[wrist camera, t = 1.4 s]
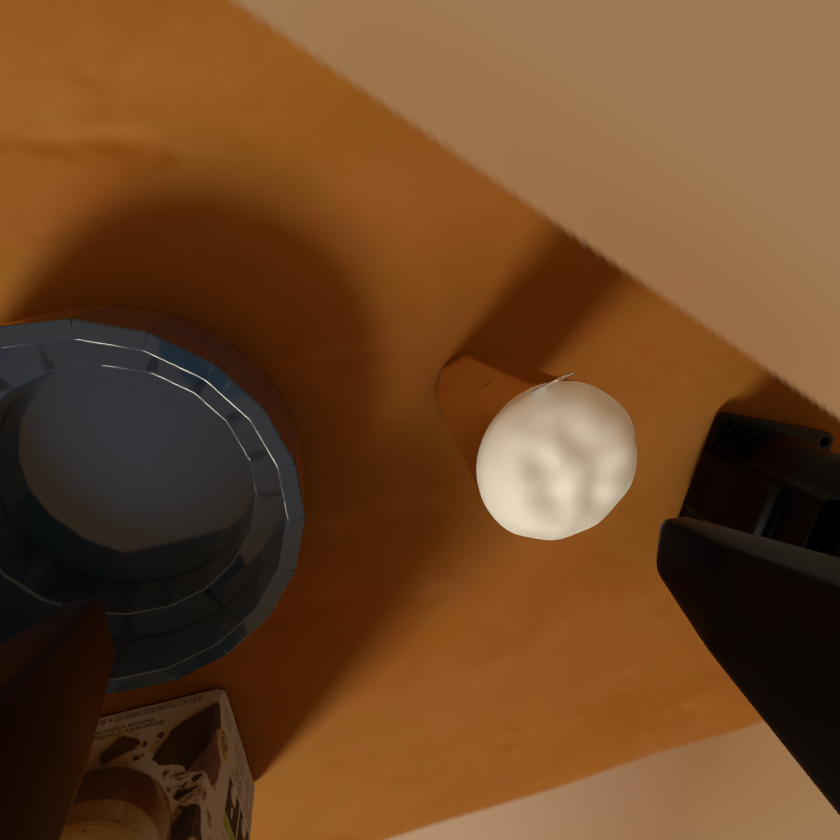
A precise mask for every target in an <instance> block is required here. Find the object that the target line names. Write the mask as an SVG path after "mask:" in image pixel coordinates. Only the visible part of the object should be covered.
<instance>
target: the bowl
mask: <svg viewBox="0 0 840 840" xmlns="http://www.w3.org/2000/svg"><path fill="white" fill-rule="evenodd" d="M304 524H305V471H304V466H303V460H302V454H301V448H300V442H299V437H298V431H297V428H296V424H295V422H294V420H293V418H292V417H291V415H290V413H289V411H288V409H287V408H286V406H285V404H284V402H283V400H282V398H281V397H280V395H279V393H278V391H277V389H276V388H275V386H274V384H273V382H271V380H270V379H269V378H268V377H267V376H266V375H265V374H264V373H263V372H262V371H261V370H259V369H258V368H257V367H256V366H255V365H254V364H253V363H252V362H251V361H250V360H249V359H248V358H247V357H246V356H245V355H244V354H243V353H241V352H240V351H239V350H238V349H237V348H236V347H235V346H234V345H233V344H230V342H228V341H226V340H224V339H222V338H220V337H219V336H217V335H215V334H213V333H211V332H209V331H207V330H205V329H203V328H201V327H199V326H197V325H195V324H193V323H191V322H189V321H187V320H185V319H183V318H181V317H177V316H175V315H170V314H165V313H160V312H154V311H149V310H143V309H138V308H133V307H127V306H122V305H105V306H95V307H86V308H77V309H68V310H59V311H52V312H49V313H45V314H41V315H37V316H33V317H29V318H25V319H21V320H18V321H14V322H10V323H6V324H2V325H0V645H1V644H3V643H4V642H6V641H7V640H9V639H11V638H12V637H14V636H15V635H17V634H18V633H20V632H22V631H23V630H25V629H26V628H28V627H29V626H31V625H33V624H34V623H36V622H37V621H39V620H41V619H42V618H44V617H45V616H47V615H48V614H50V613H52V612H53V611H55V610H56V609H58V608H60V607H61V606H63V605H64V604H66V603H69V602H73V601H80V600H87V599H98V600H99V601H101V603H102V604H103V606H104V609H105V613H106V617H107V621H108V625H109V629H110V633H111V637H112V642H113V646H114V659H113V665H112V669H111V673H110V677H109V681H108V685H107V689H106V693H105V694H114V693H120V692H125V691H129V690H134V689H138V688H143V687H148V686H152V685H157V684H162V683H166V682H171V681H174V680H178V679H180V678H182V677H184V676H186V675H188V674H190V673H192V672H194V671H196V670H198V669H200V668H202V667H204V666H206V665H208V664H210V663H212V662H214V661H216V660H218V659H220V658H222V657H224V656H226V655H227V654H228V653H230V652H231V651H232V650H233V649H234V648H235V647H237V646H238V645H239V644H240V643H241V642H242V641H243V640H244V639H245V638H246V637H248V636H249V635H250V634H251V633H252V632H253V631H254V630H255V629H256V628H257V627H258V626H260V625H261V624H262V623H263V622H264V621H265V620H266V619H267V618H268V617H269V616H270V615H271V613H272V611H273V610H274V608H275V606H276V604H277V603H278V601H279V599H280V597H281V596H282V594H283V592H284V590H285V589H286V587H287V585H288V583H289V582H290V580H291V578H292V576H293V575H294V573H295V570H296V568H297V563H298V557H299V552H300V546H301V541H302V535H303V529H304Z"/></svg>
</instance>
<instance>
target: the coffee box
mask: <svg viewBox="0 0 840 840" xmlns="http://www.w3.org/2000/svg"><path fill="white" fill-rule="evenodd" d="M254 789H255V786H254V782H253V779H252V775H251V772H250V769H249V766H248V762H247V759H246V755H245V752H244V748H243V745H242V742H241V739H240V735H239V732H238V728H237V725H236V722H235V718H234V715H233V712H232V709H231V706H230V703H229V700H228V697H227V694H226V692H225V691H224V690H222V689H215V690H210V691H206V692H202V693H198V694H194V695H190V696H186V697H183V698H179V699H175V700H171V701H167V702H162V703H158V704H154V705H150V706H146V707H142V708H138V709H134V710H130V711H125V712H121V713H117V714H113V715H109V716H105V717H101V718H99V721H98V725H97V729H96V733H95V737H94V741H93V745H92V749H91V752H90V756H89V760H88V763H87V767H86V769H85V772H84V775H83V778H82V781H81V784H80V787H79V790H78V792H77V795H76V798H75V800H74V803H73V806H72V808H71V811H70V814H69V817H68V819H67V822H66V825H65V827H64V830H63V833H62V836H61V838H60V840H250V830H251V820H252V810H253V801H254Z"/></svg>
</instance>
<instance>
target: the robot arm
mask: <svg viewBox="0 0 840 840" xmlns="http://www.w3.org/2000/svg"><path fill="white" fill-rule="evenodd" d="M727 421H728V424H727V425H726V426H725V423H726V422H727ZM724 426H725V427H724ZM832 443H833V436H832V434H831V433H829V432H826V431H823V430H820V429H814V428H809V427H804V426H798V425H793V424H787V423H782V422H777V421H771V420H766V419H761V418H755V417H750V416H745V415H739V414H734V413H729V412H723V413H721V414H719V415H718V416H717V417H716V418H715V420H714V423H713V425H712V428H711V431H710V434H709V436H708V439H707V442H706V444H705V447H704V450H703V453H702V455H701V458H700V461H699V464H698V466H697V469H696V472H695V475H694V477H693V480H692V483H691V486H690V488H689V491H688V494H687V497H686V499H685V502H684V505H683V508H682V510H681V513H680V516H679V518H672V519H667V520H665V521H664V522H663V523H662V524H661V526H660V532H659V542H658V551H657V569H658V572H659V575H660V577H661V578H662V580H663V581H664V583H665V584H666V586H667V588H668V589H669V591H670V592H671V594H672V595H673V597H674V598H675V600H676V601H677V603H678V604H679V606H680V607H681V609H682V611H683V612H684V614H685V615H686V617H687V618H688V620H689V621H690V623H691V624H692V626H693V627H694V629H695V630H696V632H697V634H698V635H699V637H700V638H701V640H702V641H703V642H704V644H705V645H706V647H707V648H708V650H709V651H710V652H711V654H712V655H713V656H714V658H715V659H716V660H717V662H718V663H719V664H720V665H721V667H722V668H723V669H724V670H725V672H726V673H727V674H728V675H729V677H730V678H731V679H732V680H733V682H734V683H735V684H736V686H737V687H738V688H739V689H740V691H741V692H742V693H743V694H744V696H745V697H746V698H747V699H748V701H749V702H750V703H751V704H752V706H753V707H754V708H755V709H756V711H757V712H758V713H759V714H760V716H761V717H762V718H763V719H764V721H765V722H766V723H767V724H768V726H769V727H770V728H771V729H772V731H773V732H774V733H775V735H776V736H777V737H778V738H779V739H780V741H781V742H782V743H783V744H784V746H785V747H786V748H787V750H788V751H789V752H790V753H791V755H792V756H793V757H794V758H795V760H796V761H797V762H798V763H799V765H800V766H801V767H802V768H803V770H804V771H805V772H806V773H807V775H808V776H809V777H810V779H811V780H812V781H813V782H814V784H815V785H816V786H817V787H818V789H819V790H820V791H821V792H822V793H823V795H824V796H825V797H826V799H827V800H828V801H829V802H830V804H831V805H832V806H833V807H834V809H835V810H836V811H837V813H838V814H839V815H840V455H839V454H837V453H834V452H832V451H829V450H830V448H831V445H832ZM113 659H114V646H113V642H112V637H111V633H110V629H109V625H108V621H107V617H106V613H105V609H104V606H103V604H102V603H101V601H99V600H98V599H87V600H80V601H73V602H69V603H66V604H64V605H63V606H61V607H60V608H58V609H56V610H55V611H53V612H52V613H50V614H48V615H47V616H45V617H44V618H42V619H41V620H39V621H37V622H36V623H34V624H33V625H31V626H29V627H28V628H26V629H25V630H23V631H22V632H20V633H18V634H17V635H15V636H14V637H12V638H11V639H9V640H7V641H6V642H4V643H3V644H1V645H0V840H60V838H61V836H62V833H63V830H64V827H65V825H66V822H67V819H68V817H69V814H70V811H71V808H72V806H73V803H74V800H75V798H76V795H77V792H78V790H79V787H80V784H81V781H82V778H83V775H84V772H85V769H86V767H87V763H88V760H89V756H90V752H91V749H92V745H93V741H94V737H95V733H96V729H97V725H98V721H99V717H100V713H101V709H102V705H103V701H104V697H105V693H106V689H107V685H108V681H109V677H110V673H111V669H112V665H113Z"/></svg>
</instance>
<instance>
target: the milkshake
mask: <svg viewBox="0 0 840 840" xmlns="http://www.w3.org/2000/svg"><path fill="white" fill-rule="evenodd" d="M573 374H574V372H572V373H569V374H566V375H564V376H561V377H559V376H555V375H551V374H548V373H544V372H541V371H538V370H535V369H532V368H529V367H526V366H523V365H520V364H518V363H515V362H512V361H509V360H506V359H503V358H500V357H497V356H494V355H491V354H487V353H484V354H462V355H460V356H459V357H458V358H457V359H455V360H454V361H453V362H451V363H450V364H449V365H447V366H446V367H445V368H443V369H442V370H441V373H440V376H439V379H438V383H437V386H436V389H435V391H434V396H435V400H436V403H437V406H438V409H439V412H440V415H441V418H442V420H443V422H444V423H445V425H446V427H447V429H448V431H449V433H450V435H451V436H452V438H453V440H454V442H455V444H456V446H457V447H458V449H459V451H460V453H461V455H462V457H463V458H464V460H465V462H466V465H467V467H468V469H469V471H470V474H471V476H472V478H473V480H474V482H475V484H476V487H477V489H478V491H479V493H480V495H481V497H482V500H483V502H484V504H485V506H486V508H487V509H488V511H489V512H490V514H491V515H492V516H493V518H494V519H495V520H496V521H497V522H498V523H499V524H500V525H501V526H502V527H504V528H505V529H506V530H508V531H510V532H512V533H514V534H517V535H520V536H525V537H531V538H536V539H542V540H558V539H562V538H566V537H568V536H571V535H574V534H576V533H579V532H582V531H584V530H587V529H589V528H591V527H593V526H595V525H596V524H598V523H599V522H601V521H602V520H603V519H604V518H605V517H606V516H607V515H608V514H609V512H610V511H611V510H612V509H613V508H614V507H615V505H616V504H617V503H618V502H619V501H620V500H621V499H622V497H623V496H624V495H625V494H626V492H627V491H628V489H629V488H630V486H631V484H632V482H633V479H634V476H635V472H636V466H637V446H636V437H635V431H634V426H633V423H632V420H631V418H630V416H629V415H628V413H627V412H626V410H625V409H624V408H623V407H622V406H621V405H620V404H619V403H618V402H617V401H616V400H614V399H613V398H612V397H611V396H609V395H608V394H606V393H605V392H604V391H602V390H600V389H599V388H597V387H595V386H592V385H590V384H587V383H583V382H577V381H574V380H570V379H566V378H567V377H569V376H571V375H573Z"/></svg>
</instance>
